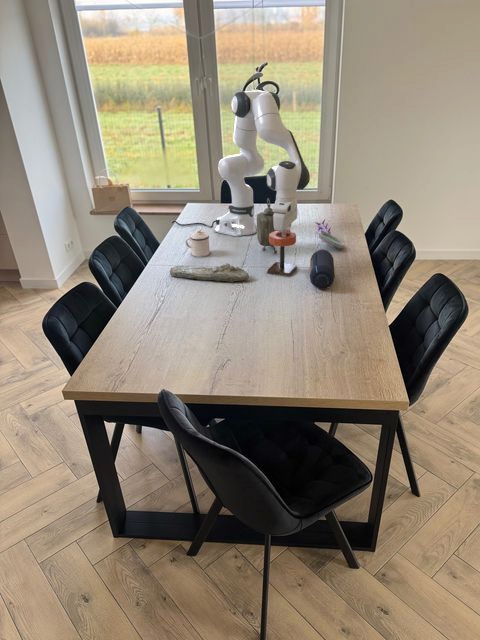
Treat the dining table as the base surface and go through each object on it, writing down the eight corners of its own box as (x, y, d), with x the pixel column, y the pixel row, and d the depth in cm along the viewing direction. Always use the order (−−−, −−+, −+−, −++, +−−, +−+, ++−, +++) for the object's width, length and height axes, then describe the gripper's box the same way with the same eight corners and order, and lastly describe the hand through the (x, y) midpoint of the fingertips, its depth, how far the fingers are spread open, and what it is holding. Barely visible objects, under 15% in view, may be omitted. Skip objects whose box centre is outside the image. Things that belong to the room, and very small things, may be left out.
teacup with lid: (213, 251, 236) (211, 227, 230) (206, 258, 229) (204, 234, 223) (190, 249, 239) (188, 225, 233) (182, 255, 232) (180, 231, 226)
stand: (267, 273, 213) (267, 242, 206) (275, 265, 221) (275, 235, 214) (288, 276, 210) (289, 245, 203) (296, 268, 218) (297, 237, 210)
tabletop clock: (280, 255, 231) (280, 202, 218) (261, 256, 230) (260, 203, 217) (274, 244, 244) (274, 193, 230) (256, 245, 242) (255, 194, 229)
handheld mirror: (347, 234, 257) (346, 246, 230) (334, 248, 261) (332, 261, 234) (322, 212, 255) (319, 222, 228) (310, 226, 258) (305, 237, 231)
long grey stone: (175, 272, 218) (167, 282, 210) (173, 261, 215) (165, 271, 207) (251, 273, 211) (246, 284, 203) (250, 262, 208) (245, 272, 200)
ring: (265, 244, 206) (265, 237, 204) (275, 236, 215) (275, 229, 213) (290, 247, 202) (290, 240, 201) (299, 239, 211) (299, 232, 209)
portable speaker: (310, 267, 218) (311, 246, 213) (332, 268, 217) (333, 246, 212) (309, 291, 197) (310, 268, 192) (334, 292, 196) (335, 269, 191)
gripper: (287, 196, 213) (287, 227, 220) (270, 208, 197) (270, 241, 204) (301, 197, 211) (300, 228, 218) (285, 210, 195) (284, 243, 202)
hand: (285, 235), depth 211 cm, fingers closed on ring, 2 cm apart
